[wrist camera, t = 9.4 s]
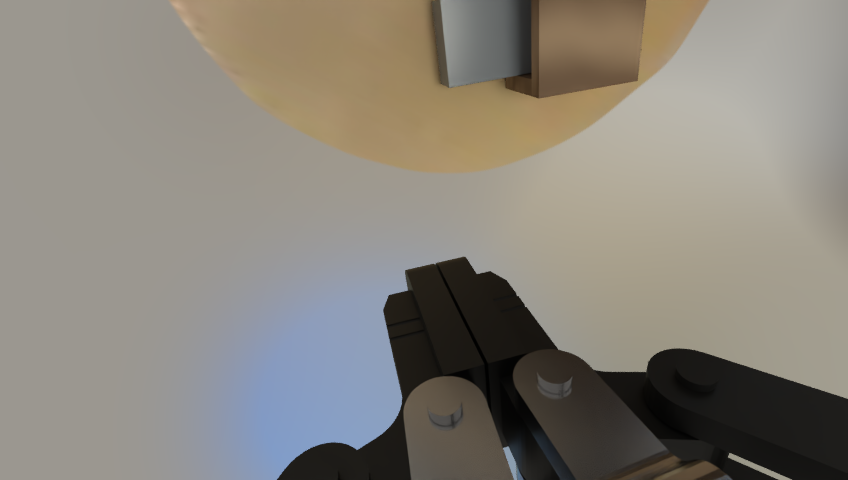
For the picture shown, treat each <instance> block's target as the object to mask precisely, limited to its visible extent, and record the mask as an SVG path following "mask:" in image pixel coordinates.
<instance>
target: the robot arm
mask: <svg viewBox="0 0 848 480" xmlns="http://www.w3.org/2000/svg"><path fill="white" fill-rule="evenodd" d="M405 275H406V281H407V287H408V291H405V292H401V293H396V294H392V295H389V296H388V299H387V302H386V304H385V307H384V310H383V311H384V316H385V321H386V325H387V330H388V335H389V339H390V344H391V348H392V353H393V358H394V362H395V366H396V371H397V375H398V380H399V384H400V389H401V393H402V405H401V409H400V412H399V414H398V416H397V418H396V419H395V421H394V423H393V424H392V425H391V426H390V427H389V428H388V429H387V430H386V431H385V432H384V433H383V434H382V435H380V436H379V437H377V438H376V439H374V440H373V441H371V442H370V443H368V444H366V445H365V446H363V447H362V448H360V449H358V450H356V449H355V448H353V447H351V446H349V445H347V444H343V443H326V444H321V445H318V446H315V447H313V448H310V449H308V450H307V451H305V452H303V453H302V454H300V455H299V456H298V457H296V458H295V459H294V460H293V461H292V462H291V463H290V464H289V465H288V466H287V468H286V469H285V470H284V471H283V472H282V474H281V475H280V476H279V478H278V479H277V480H514V479H513V476H512V473H511V470H510V467H509V464H508V461H507V459H506V456H505V453H504V450H503V448H504V447H507V446H509V448H510V450H511V453H512V455H513V457H514V459H515V461H516V469H517V470H516V472H517V480H778V479H775V478H773V477H771V476H769V475H766V474H764V473H762V472H759V471H757V470H755V469H753V468H750V467H748V466H746V465H743V464H741V463H739V462H736V461H734V460H732V459H730V458H728V455H729V453H732V454H734V455H737V456H739V457H741V458H743V459H746V460H748V461H750V462H753V463H755V464H757V465H760V466H762V467H764V468H767V469H769V470H771V471H774V472H776V473H778V474H780V475H783V476H785V477H788V478H790V479H792V480H848V399H846V398H843V397H840V396H837V395H834V394H831V393H827V392H824V391H821V390H818V389H815V388H812V387H809V386H806V385H803V384H800V383H796V382H793V381H790V380H787V379H784V378H781V377H778V376H774V375H772V374H768V373H765V372H762V371H759V370H756V369H753V368H750V367H747V366H744V365H740V364H737V363H734V362H731V361H728V360H725V359H722V358H719V357H715V356H712V355H709V354H706V353H703V352H699V351H695V350H690V349H669V350H664V351H661V352H659V353H657V354H656V355H654V356H653V357H652V358H651V359H650V361H649V362H648V366H647V371H646V372H603V371H596V370H593V369H592V368H591V367H590V366H589V365H588V364H587V363H586V362H585V361H584V360H582V359H581V358H579V357H578V356H576V355H574V354H571V353H569V352H565V351H561V350H558V349H557V347H556V346H555V345H554V343H553V342H552V341H551V339H550V338H549V337H548V335H547V334H546V333H545V331H544V330H543V329H542V327H541V326H540V325H539V323H538V322H537V321H536V319H535V318H534V317H533V315H532V314H531V312H530V311H529V310H528V309H527V307H525V305H524V303H523V302H522V301H521V299H520V298H519V296H517V295H516V292H515V291H514V290H513V288H512V287H511V286H510V285H509V283H508V282H507V280H505V279H503V278H501V277H499V276H498V275H496V274H494V273H492V272H491V271H489V272H485V273H481V274H476V272H475V271H474V269H473V268H472V266H471V265H470V263H469V261H468V260H467V259H466V257H461V258H457V259H452V260H448V261H443V262H439V263H436V265H435V264H430V265H426V266H422V267H417V268H413V269H408V270H405Z"/></svg>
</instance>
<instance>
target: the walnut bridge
mask: <svg viewBox="0 0 848 480" xmlns="http://www.w3.org/2000/svg"><path fill="white" fill-rule="evenodd" d="M645 8H646V0H531V60H532V73H528V74H523V75H517V76H512V77H506V88H507V89H510V90H513V91H517V92H520V93H523V94H526V95H530V96H533V97H536V98H544V97H549V96H555V95H561V94H566V93H572V92H577V91H583V90H589V89H594V88H600V87H605V86H611V85H617V84H622V83H628V82H633V81H638V72H639V63H640V54H641V44H642V35H643V26H644V17H645Z"/></svg>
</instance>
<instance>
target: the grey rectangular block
mask: <svg viewBox="0 0 848 480" xmlns="http://www.w3.org/2000/svg"><path fill="white" fill-rule="evenodd" d="M432 10H433V19H434V27H435V36H436V45H437V54H438V63H439V72H440V81H441V84H442V85H444V86H446V87H448V88H452V87H457V86H462V85H468V84H473V83H479V82H484V81H490V80H495V79H501V78H506V77H512V76H517V75H523V74H528V73H532V60H531V0H435V1H432Z"/></svg>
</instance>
